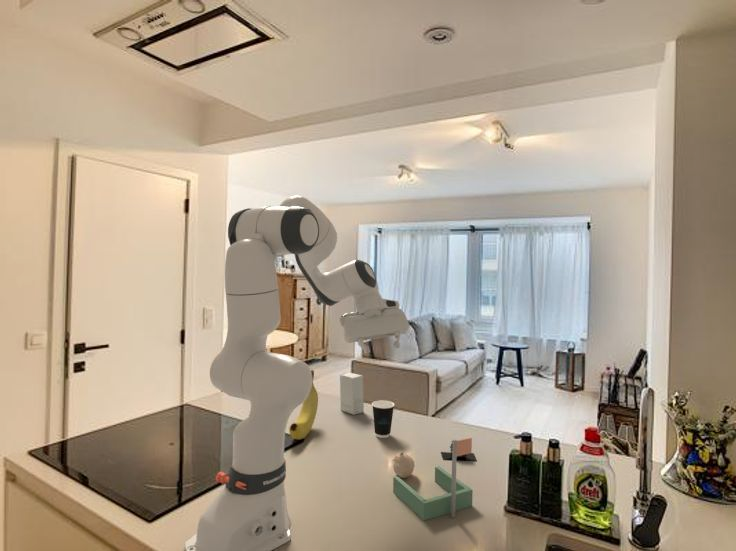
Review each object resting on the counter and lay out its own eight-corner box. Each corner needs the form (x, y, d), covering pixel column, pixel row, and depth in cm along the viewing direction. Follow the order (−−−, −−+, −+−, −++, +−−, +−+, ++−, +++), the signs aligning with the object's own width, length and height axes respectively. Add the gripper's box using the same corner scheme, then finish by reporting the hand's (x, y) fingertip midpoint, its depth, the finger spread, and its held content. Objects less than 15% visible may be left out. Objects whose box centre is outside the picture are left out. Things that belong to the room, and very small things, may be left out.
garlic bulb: (387, 475, 120) (387, 447, 120) (402, 468, 125) (402, 440, 125) (405, 484, 115) (405, 454, 115) (419, 476, 120) (420, 448, 120)
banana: (301, 448, 137) (302, 385, 137) (284, 446, 138) (285, 384, 138) (320, 422, 159) (321, 369, 159) (305, 421, 160) (306, 368, 160)
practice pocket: (393, 492, 111) (394, 423, 111) (438, 480, 118) (439, 415, 117) (428, 525, 97) (430, 446, 97) (478, 510, 103) (479, 436, 103)
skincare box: (363, 412, 172) (364, 375, 172) (352, 415, 168) (353, 377, 168) (350, 407, 178) (350, 371, 178) (338, 410, 174) (339, 373, 174)
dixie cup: (383, 429, 154) (384, 398, 154) (398, 436, 148) (399, 404, 148) (366, 434, 149) (367, 402, 149) (381, 441, 143) (382, 409, 143)
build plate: (477, 454, 136) (477, 439, 136) (482, 465, 129) (483, 449, 129) (435, 452, 137) (436, 437, 137) (438, 463, 129) (438, 447, 129)
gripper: (339, 309, 129) (350, 351, 122) (403, 300, 135) (416, 340, 127) (337, 319, 134) (347, 360, 127) (398, 310, 140) (411, 349, 133)
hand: (382, 350), depth 127 cm, fingers open, 8 cm apart
